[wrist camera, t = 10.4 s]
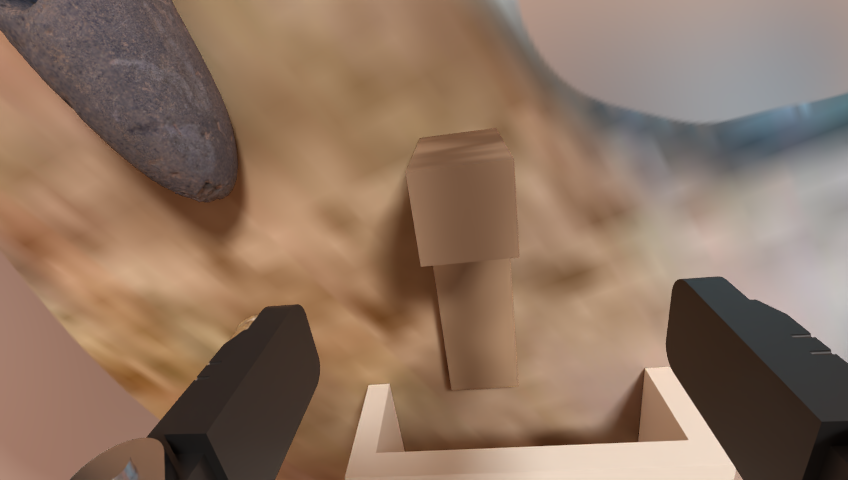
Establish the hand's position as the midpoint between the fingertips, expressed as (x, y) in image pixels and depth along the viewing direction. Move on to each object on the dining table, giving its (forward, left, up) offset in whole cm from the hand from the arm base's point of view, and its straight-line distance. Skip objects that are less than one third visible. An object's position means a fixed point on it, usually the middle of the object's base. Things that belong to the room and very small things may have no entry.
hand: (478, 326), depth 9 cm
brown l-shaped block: (0, +6, -14) cm, 16 cm away
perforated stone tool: (+14, -8, -15) cm, 22 cm away
